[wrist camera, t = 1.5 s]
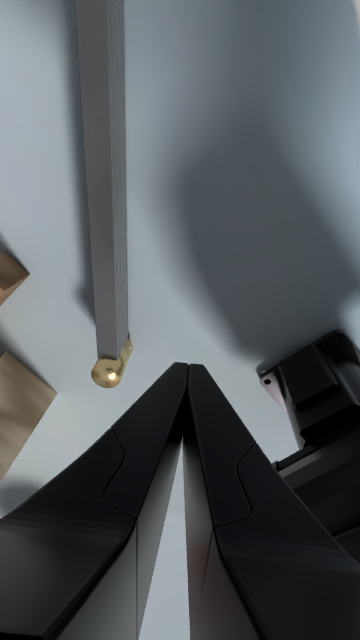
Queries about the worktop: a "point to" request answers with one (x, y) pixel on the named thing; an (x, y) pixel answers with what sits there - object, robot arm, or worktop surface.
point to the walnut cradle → (10, 276)
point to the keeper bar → (105, 177)
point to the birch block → (19, 408)
